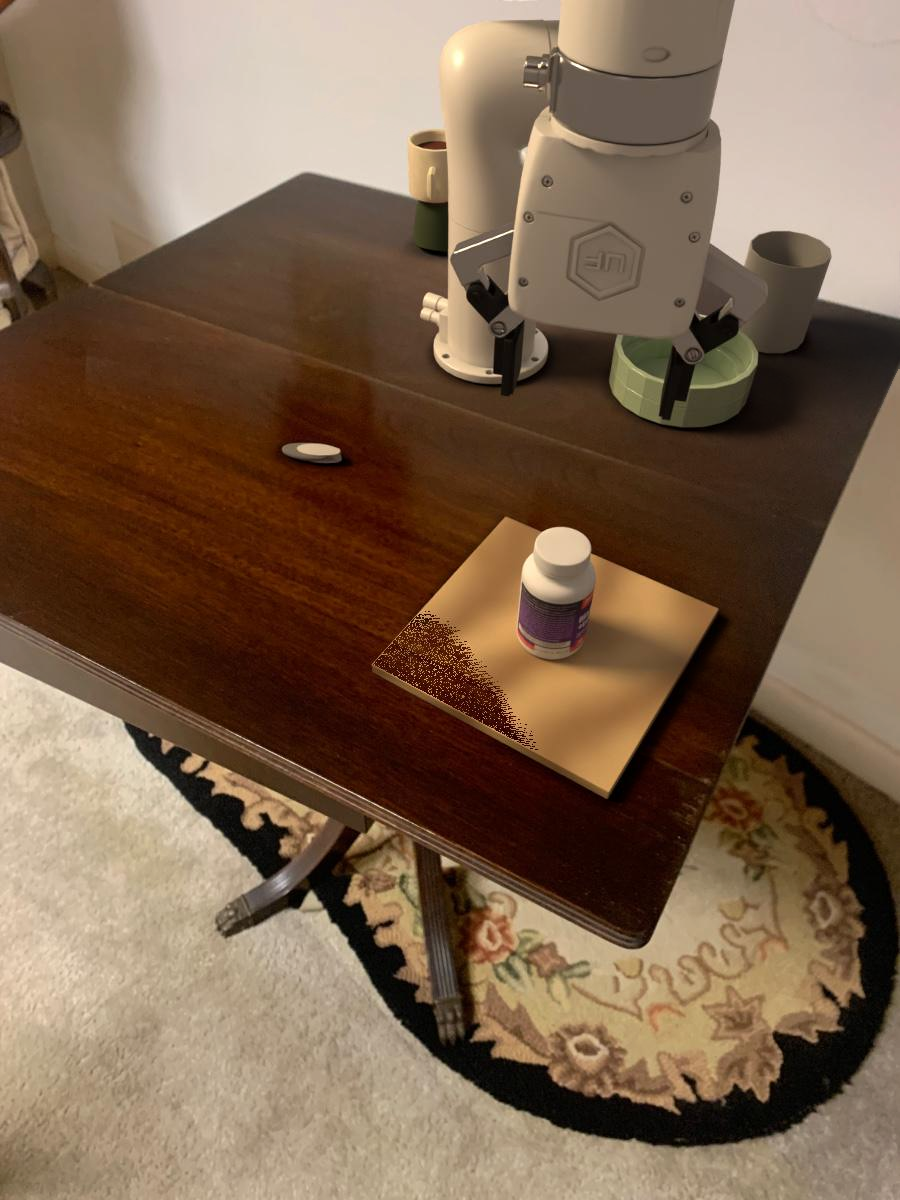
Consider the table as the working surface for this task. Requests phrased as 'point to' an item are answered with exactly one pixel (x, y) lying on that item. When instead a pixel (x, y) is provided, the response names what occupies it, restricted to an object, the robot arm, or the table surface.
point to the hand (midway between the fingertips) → (587, 394)
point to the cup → (785, 287)
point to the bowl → (712, 386)
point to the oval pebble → (313, 452)
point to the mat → (566, 658)
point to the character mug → (429, 188)
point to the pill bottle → (556, 594)
